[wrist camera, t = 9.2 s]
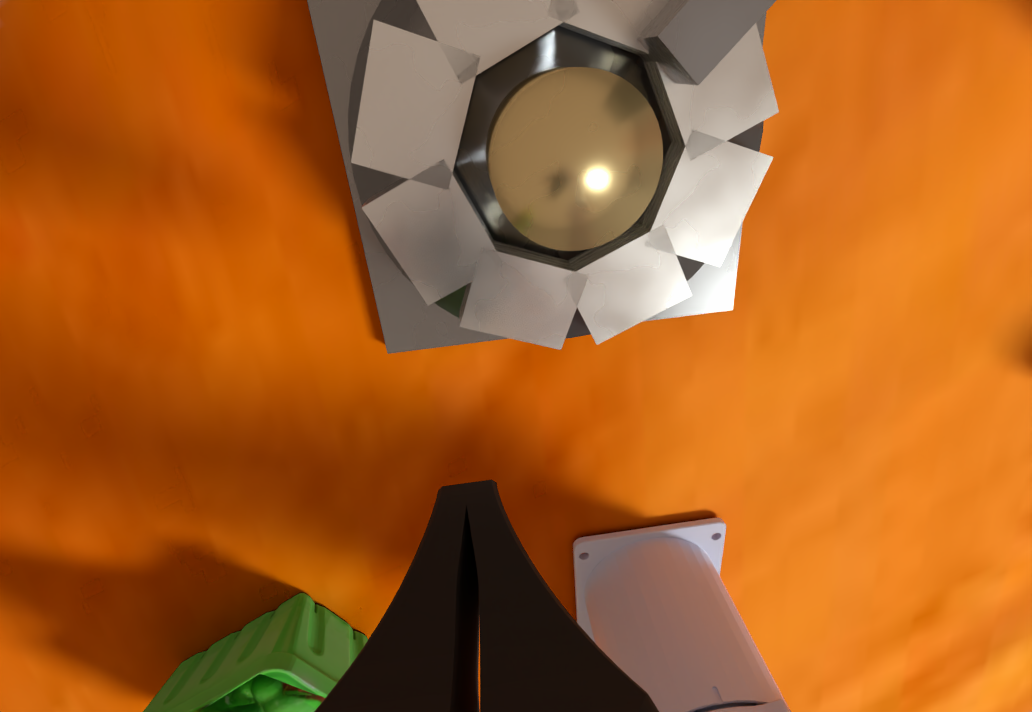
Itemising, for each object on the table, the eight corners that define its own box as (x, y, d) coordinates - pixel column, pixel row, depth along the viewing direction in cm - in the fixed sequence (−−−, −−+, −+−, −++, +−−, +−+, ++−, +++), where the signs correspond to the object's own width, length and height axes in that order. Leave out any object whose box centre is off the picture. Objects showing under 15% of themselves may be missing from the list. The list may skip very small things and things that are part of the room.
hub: (727, 304, 23) (787, 356, 19) (389, 346, 22) (375, 410, 18) (774, -137, 16) (883, -204, 12) (289, -97, 15) (232, -154, 11)
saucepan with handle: (944, -253, 13) (1065, -330, 11) (658, 358, 21) (688, 401, 18) (470, -537, 11) (476, -731, 8) (336, 283, 18) (317, 321, 16)
